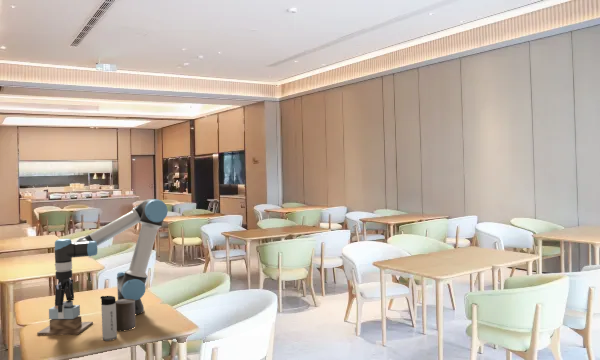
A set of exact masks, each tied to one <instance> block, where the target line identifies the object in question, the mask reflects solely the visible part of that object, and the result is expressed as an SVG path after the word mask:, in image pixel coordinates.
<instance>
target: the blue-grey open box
mask: <svg viewBox="0 0 600 360" xmlns="http://www.w3.org/2000/svg"><path fill="white" fill-rule="evenodd" d="M77 316H81V306H80V304H73V308H64V319H74V318H76V317H77ZM48 319H49V320H51V319H58V308H55V305H54V306H52V307H49V308H48Z"/></svg>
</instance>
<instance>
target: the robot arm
mask: <svg viewBox="0 0 600 360" xmlns="http://www.w3.org/2000/svg"><path fill="white" fill-rule="evenodd" d="M166 217H168V207H167V205H166V203H165V202H164V201H162V200H161V199H159V198H158V199H157V198H148V199H145V200H144V201H142V202H141V203H140V204H138V205H136V206H134V207H132V210H130V211H129V212H128V213H125V214H124V215H122V216H120V217H119V218H116V219H114V220H113V221H111V222H110V223H107V224H106V225H104V226H102V227H101V228H99V229H96V230H95V231H93V232H91V233H89V234H88V235H86V236H84V237H80V238H78V239H77V240H76V241H75V242H72V239H71V238H59V239H56V240H55V241H54V261H55V262H54V267H55V269H54V270H55V272H54V273H55V279H56V280H58V283H57V284H55V285H54V289H55V290H54V291H55V292H54V295H55V296H54V306H58V319H64V305H63V301H64V299H66V301H74V300H75V299H74V298H75V293H74V279H73V270H72V269H73V258H83V257H93V256H97V255H98V246H100V245H102V244H104V243H105V242H107V241H109V240H111V239H112V238H114V237H116V236H117V235H120V234H121V233H123V232H125V231H127V230H129V229H130V228H132V227H134V226H135V225H137V224H141V228H140V230H139V233H138V237H137V240H136V244H135V247H134V250H133V251H134V252H133V254H132V259H131V261H130V264H129V268H128V269H127V270H124V271H120V272H119V271H118V272H117V274H116V285H117V287H116V289H117V300H121V299H134V300H135V314H137V315H139V314H138V313H140V314H142V313H144V311H145V309H144V303H143V302H142V297H143V296H144V295H145V294H146V289H147V288H146V283H147V279H148V275H147V273H146V271H147V268H148V264H149V263H150V258H151V255H152V251H153V248H154V244H155V241H156V238H157V233H158V230H159V229H160V228H162V227H163V226H162V225H163V223H164V220H165V219H166ZM71 278H72V279H71ZM141 312H142V313H141Z"/></svg>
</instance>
